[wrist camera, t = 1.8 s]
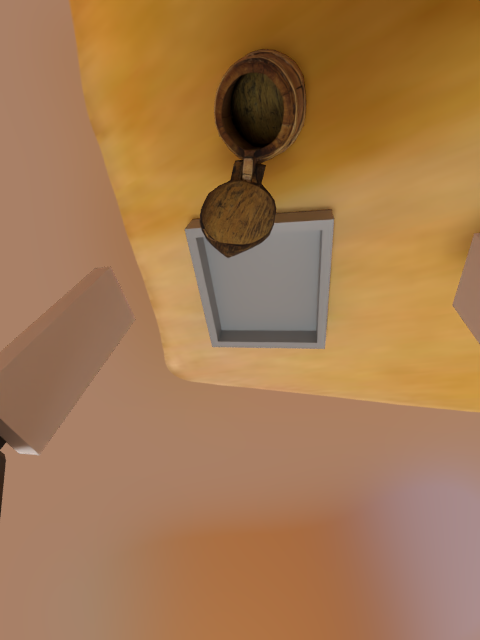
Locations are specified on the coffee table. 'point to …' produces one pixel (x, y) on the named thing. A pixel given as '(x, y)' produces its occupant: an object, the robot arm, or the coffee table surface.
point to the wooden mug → (252, 146)
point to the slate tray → (268, 284)
